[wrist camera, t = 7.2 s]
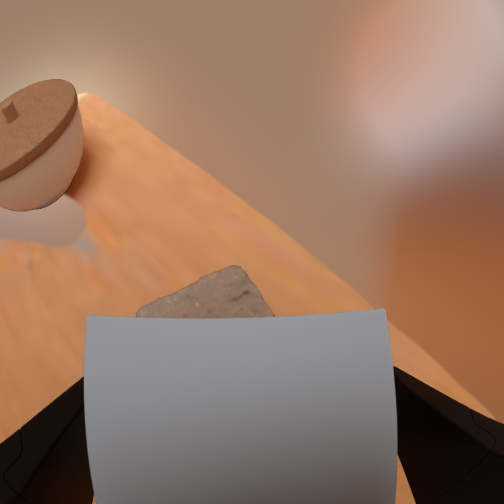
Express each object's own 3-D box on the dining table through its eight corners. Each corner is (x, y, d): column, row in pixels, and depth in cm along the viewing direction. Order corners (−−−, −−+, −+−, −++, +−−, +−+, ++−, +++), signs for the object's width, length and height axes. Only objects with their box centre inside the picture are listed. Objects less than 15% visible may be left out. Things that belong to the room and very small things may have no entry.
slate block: (276, 441, 14) (389, 547, 2) (190, 444, 14) (114, 566, 2) (271, 362, 16) (385, 308, 5) (187, 364, 16) (87, 314, 4)
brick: (139, 321, 21) (124, 307, 16) (232, 274, 23) (238, 250, 19) (251, 496, 16) (263, 521, 12) (339, 440, 19) (368, 450, 15)
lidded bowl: (68, 126, 28) (46, 54, 18) (119, 173, 26) (95, 81, 16) (-8, 190, 22) (-50, 127, 13) (25, 258, 20) (-42, 190, 10)
